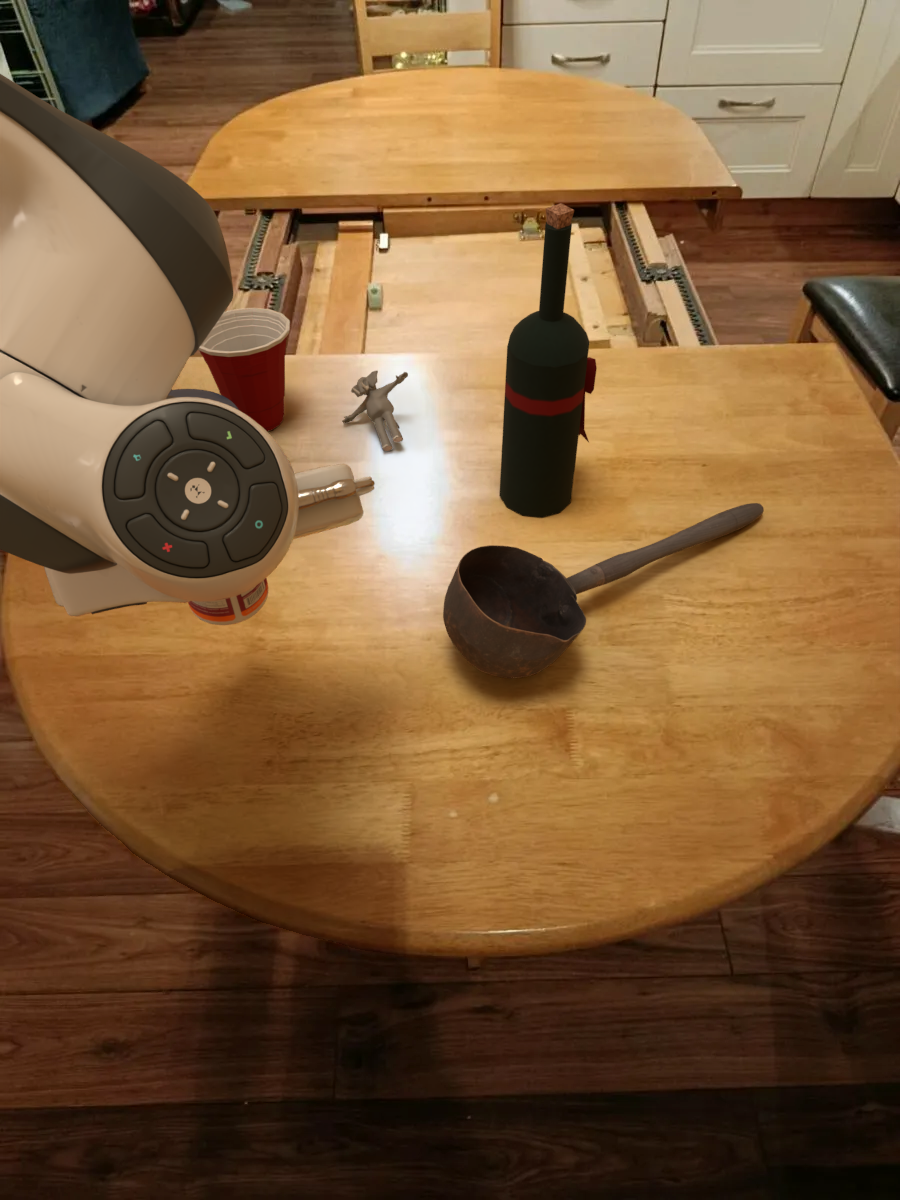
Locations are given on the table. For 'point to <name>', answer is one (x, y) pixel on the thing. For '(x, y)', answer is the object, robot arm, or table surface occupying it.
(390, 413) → the elephant figurine
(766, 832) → the table surface
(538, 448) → the wine bottle
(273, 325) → the plastic cup
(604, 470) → the table surface
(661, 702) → the table surface
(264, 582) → the pill bottle
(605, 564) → the ladle
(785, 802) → the table surface
